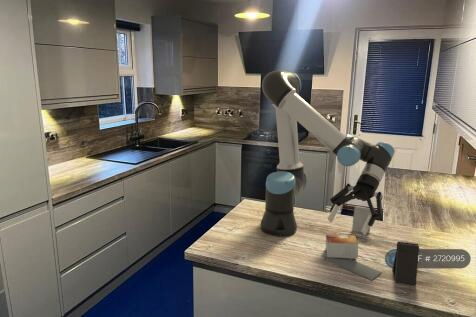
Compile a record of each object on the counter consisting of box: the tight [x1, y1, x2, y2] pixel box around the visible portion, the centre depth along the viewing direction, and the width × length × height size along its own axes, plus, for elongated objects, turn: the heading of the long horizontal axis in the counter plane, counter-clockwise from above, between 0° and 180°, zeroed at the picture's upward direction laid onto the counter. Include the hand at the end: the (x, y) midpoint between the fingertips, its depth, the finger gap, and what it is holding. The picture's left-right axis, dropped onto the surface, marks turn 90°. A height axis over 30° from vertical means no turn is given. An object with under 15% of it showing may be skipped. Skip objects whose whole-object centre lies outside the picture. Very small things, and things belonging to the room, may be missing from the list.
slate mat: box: [323, 256, 382, 282], centre depth 123 cm, size 18×6×1 cm, turn 43°
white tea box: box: [351, 205, 372, 234], centre depth 149 cm, size 4×7×10 cm, turn 64°
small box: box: [325, 234, 359, 259], centre depth 129 cm, size 8×6×10 cm
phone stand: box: [391, 241, 420, 287], centre depth 115 cm, size 9×6×12 cm, turn 163°
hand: (345, 226), depth 129 cm, fingers open, 13 cm apart
